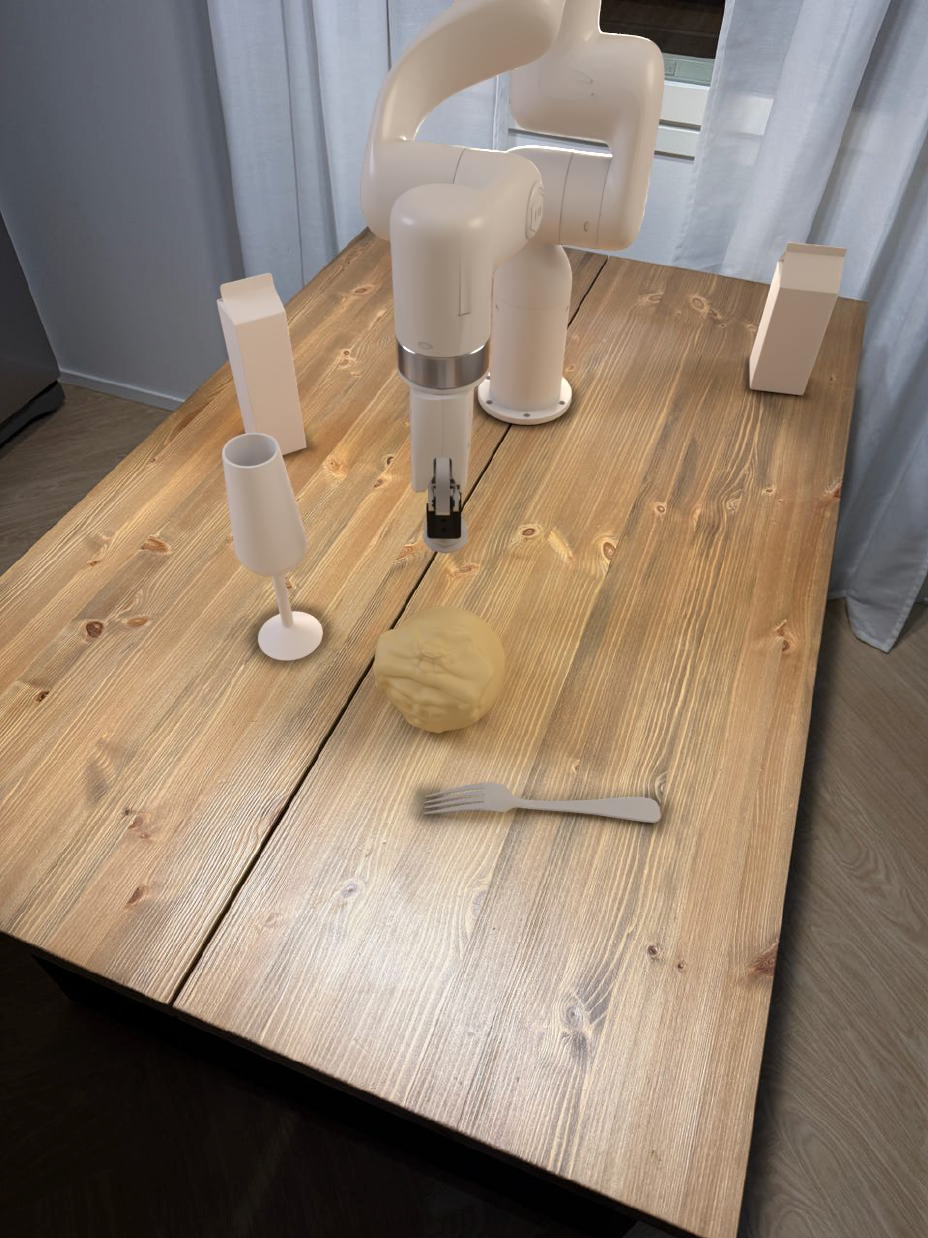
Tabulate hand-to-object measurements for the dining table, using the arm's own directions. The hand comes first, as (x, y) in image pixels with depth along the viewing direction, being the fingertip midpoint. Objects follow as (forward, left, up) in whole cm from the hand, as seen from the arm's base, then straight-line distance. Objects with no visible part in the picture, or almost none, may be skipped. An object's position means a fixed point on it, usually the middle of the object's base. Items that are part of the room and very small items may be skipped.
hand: (444, 519), depth 85 cm
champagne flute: (+4, -16, -13) cm, 21 cm away
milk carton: (-43, +45, -13) cm, 64 cm away
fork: (+24, +9, -13) cm, 29 cm away
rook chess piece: (0, 0, -3) cm, 3 cm away
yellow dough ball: (+12, 0, -13) cm, 18 cm away
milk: (-28, -22, -13) cm, 38 cm away
